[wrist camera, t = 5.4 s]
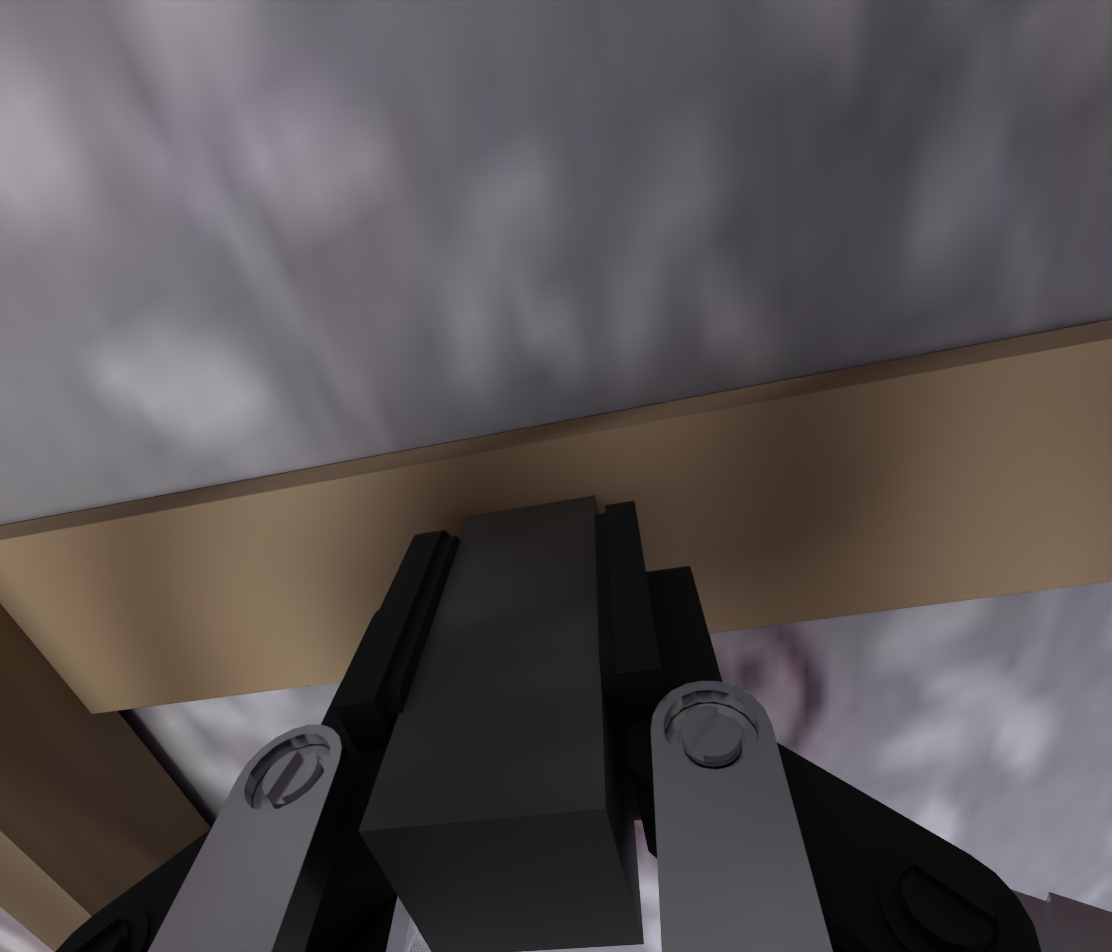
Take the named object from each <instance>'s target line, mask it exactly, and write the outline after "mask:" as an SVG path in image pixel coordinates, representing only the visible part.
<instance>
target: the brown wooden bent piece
mask: <svg viewBox="0 0 1112 952" xmlns="http://www.w3.org/2000/svg"><path fill="white" fill-rule="evenodd" d="M628 501H635V506H636V512H637V519H638V525H639V531H640V537H641V543H642V549H643V555H644V561H645V567H646V572H648V571H655V570H662V569H670V568H677V567H684V566H690V567H691V570H692V573H693V577H694V581H695V584H696V588H697V592H698V595H699V599H700V603H701V606H702V610H703V614H704V617H705V621H706V624H707V628H708V632H709V633H717V632H725V631H732V630H740V629H748V628H755V627H763V626H771V625H778V624H786V623H794V622H801V621H809V620H817V619H825V618H832V617H840V616H848V615H855V614H863V613H871V612H878V611H886V610H894V609H901V608H909V607H917V606H924V605H932V604H940V603H947V602H955V601H963V600H970V599H978V598H986V597H993V596H1001V595H1009V594H1016V593H1024V592H1032V591H1039V590H1047V589H1055V588H1062V587H1070V586H1078V585H1085V584H1093V583H1101V582H1109V581H1112V320H1107V321H1102V322H1097V323H1091V324H1086V325H1080V326H1075V327H1070V328H1064V329H1059V330H1053V331H1048V332H1043V333H1037V334H1032V335H1026V336H1021V337H1016V338H1010V339H1005V340H999V341H994V342H989V343H983V344H978V345H972V346H967V347H962V348H956V349H951V350H946V351H940V352H935V353H929V354H924V355H919V356H913V357H908V358H902V359H897V360H892V361H886V362H881V363H875V364H870V365H865V366H859V367H854V368H848V369H843V370H838V371H832V372H827V373H821V374H816V375H811V376H805V377H800V378H794V379H789V380H784V381H778V382H773V383H768V384H762V385H757V386H751V387H746V388H741V389H735V390H730V391H724V392H719V393H714V394H708V395H703V396H697V397H692V398H687V399H681V400H676V401H670V402H665V403H660V404H654V405H649V406H643V407H638V408H633V409H627V410H622V411H616V412H611V413H606V414H600V415H595V416H589V417H584V418H579V419H573V420H568V421H563V422H557V423H552V424H546V425H541V426H536V427H530V428H525V429H519V430H514V431H509V432H503V433H498V434H492V435H487V436H482V437H476V438H471V439H465V440H460V441H455V442H449V443H444V444H438V445H433V446H428V447H422V448H417V449H411V450H406V451H401V452H395V453H390V454H384V455H379V456H374V457H368V458H363V459H358V460H352V461H347V462H341V463H336V464H331V465H325V466H320V467H314V468H309V469H304V470H298V471H293V472H287V473H282V474H277V475H271V476H266V477H260V478H255V479H250V480H244V481H239V482H233V483H228V484H223V485H217V486H212V487H206V488H201V489H196V490H190V491H185V492H180V493H174V494H169V495H163V496H158V497H153V498H147V499H142V500H136V501H131V502H126V503H120V504H115V505H109V506H104V507H99V508H93V509H88V510H82V511H77V512H72V513H66V514H61V515H55V516H50V517H45V518H39V519H34V520H28V521H23V522H18V523H12V524H7V525H1V526H0V907H2V908H3V909H4V910H5V911H6V912H8V913H9V914H10V915H11V916H12V917H14V918H15V919H16V920H17V921H18V922H19V923H21V924H22V925H23V926H24V927H25V928H27V929H28V930H29V931H30V932H31V933H32V934H34V935H35V936H36V937H37V938H38V939H40V940H41V941H42V942H43V943H44V944H46V945H47V946H48V947H49V948H50V949H51V950H53V951H54V952H55V951H56V950H57V949H58V948H59V947H60V946H61V945H62V944H63V943H64V942H65V940H66V939H67V938H68V937H69V936H70V935H71V934H72V933H73V932H74V931H75V930H76V929H78V928H79V927H80V926H81V925H82V924H83V923H85V922H86V921H87V920H88V919H89V918H91V917H92V916H93V915H94V914H96V913H97V912H98V911H100V910H101V909H102V908H104V907H105V906H106V905H108V904H109V903H111V902H112V901H113V900H115V899H116V898H117V897H119V896H120V895H121V894H123V893H124V892H126V891H127V890H128V889H130V888H131V887H132V886H134V885H135V884H136V883H138V882H139V881H140V880H142V879H143V878H145V877H146V876H147V875H149V874H150V873H151V872H153V871H154V870H155V869H157V868H158V867H159V866H161V865H162V864H164V863H165V862H166V861H168V860H169V859H170V858H172V857H173V856H174V855H176V854H177V853H179V852H180V851H181V850H183V849H184V848H185V847H187V846H188V845H189V844H191V843H192V842H193V841H195V840H196V839H198V838H199V837H200V836H202V835H203V834H204V833H206V832H207V831H208V830H210V829H211V828H210V827H209V825H208V824H207V823H206V821H205V820H204V819H203V818H202V816H201V815H200V814H199V813H198V811H197V810H196V809H195V808H194V806H193V805H192V804H191V803H190V801H189V800H188V799H187V798H186V796H185V795H184V794H183V793H182V791H181V790H180V789H179V788H178V786H177V785H176V784H175V783H174V781H173V780H172V779H171V778H170V776H169V775H168V774H167V773H166V771H165V770H164V769H163V768H162V766H161V765H160V764H159V763H158V761H157V760H156V759H155V757H154V756H153V755H152V754H151V752H150V751H149V750H148V749H147V747H146V746H145V745H144V744H143V742H142V741H141V740H140V739H139V737H138V736H137V735H136V734H135V732H134V731H133V730H132V729H131V727H130V726H129V725H128V724H127V722H126V721H125V720H124V719H123V717H122V716H121V715H120V714H119V712H118V710H126V709H134V708H141V707H149V706H157V705H164V704H172V703H180V702H187V701H195V700H203V699H210V698H218V697H226V696H233V695H241V694H249V693H257V692H264V691H272V690H280V689H287V688H295V687H303V686H310V685H318V684H326V683H333V682H341V681H342V680H343V677H344V675H345V673H346V671H347V669H348V667H349V665H350V663H351V661H352V659H353V657H354V654H355V652H356V650H357V648H358V646H359V644H360V642H361V640H362V638H363V636H364V634H365V631H366V629H367V627H368V625H369V623H370V621H371V619H372V617H373V615H374V614H375V612H376V611H377V610H379V609H380V607H381V605H382V603H383V600H384V598H385V596H386V594H387V592H388V590H389V588H390V586H391V583H392V581H393V579H394V577H395V575H396V573H397V571H398V569H399V566H400V564H401V562H402V560H403V558H404V556H405V554H406V552H407V549H408V547H409V545H410V543H411V541H412V539H413V537H414V536H415V535H416V534H421V533H428V532H434V531H440V530H446V531H447V532H448V533H449V535H450V537H451V536H457V537H458V538H459V539H460V543H459V546H458V549H457V552H456V555H455V558H454V561H453V564H452V567H451V570H450V573H449V575H448V578H447V581H446V584H445V587H444V590H443V593H442V596H441V599H440V602H439V605H438V608H437V611H436V614H435V617H434V620H433V623H432V626H431V629H430V632H429V635H428V638H427V641H426V644H425V647H424V650H423V653H422V656H421V659H420V662H419V665H418V668H417V671H416V674H415V677H414V680H413V683H412V686H411V689H410V692H409V695H408V698H407V700H406V703H405V706H404V709H403V712H402V713H399V715H398V717H397V720H396V723H395V726H394V729H393V732H392V735H391V738H390V741H389V744H388V747H387V750H386V752H385V755H384V758H383V761H382V764H381V767H380V770H379V773H378V776H377V779H376V782H375V785H374V787H373V790H372V793H371V796H370V799H369V802H368V805H367V808H366V811H365V814H364V817H363V819H362V822H361V825H360V828H359V831H358V832H359V833H360V835H361V836H362V838H363V840H364V841H365V843H366V845H367V846H368V848H369V850H370V851H371V853H372V855H373V856H374V858H375V859H376V861H377V863H378V864H379V866H380V868H381V869H382V871H383V873H384V874H385V876H386V878H387V879H388V881H389V882H390V884H391V886H392V887H393V889H394V891H395V892H396V894H397V896H398V897H399V899H400V900H401V902H402V904H403V905H404V907H405V909H406V910H407V912H408V914H409V915H410V917H411V919H412V920H413V922H414V923H415V925H416V927H417V928H418V930H419V932H420V933H421V935H422V937H423V938H424V940H425V942H426V943H427V945H428V946H429V948H430V950H431V951H432V952H520V951H536V950H553V949H570V948H587V947H603V946H620V945H637V944H644V941H643V928H642V915H641V903H640V890H639V877H638V865H637V852H636V839H635V826H634V818H633V814H632V810H631V806H630V802H629V798H628V794H627V790H626V786H625V782H624V778H623V774H622V770H621V765H620V761H619V757H618V753H617V748H616V744H615V740H614V735H613V731H612V727H611V722H610V718H609V714H608V709H607V705H606V701H605V696H604V692H603V687H602V681H601V673H600V664H599V641H598V610H597V579H596V548H595V514H602V513H605V505H609V504H615V503H622V502H628Z"/></svg>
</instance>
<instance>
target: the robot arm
mask: <svg viewBox="0 0 1112 952" xmlns="http://www.w3.org/2000/svg"><path fill="white" fill-rule="evenodd" d="M459 543H460V539H459V538H458V537H457V536H451V537H450V535H449V533H448V532H447V531H446V530H440V531H434V532H428V533H421V534H416V535H415V536H414V537H413V539H412V541H411V543H410V545H409V547H408V549H407V552H406V554H405V556H404V558H403V560H402V562H401V564H400V566H399V569H398V571H397V573H396V575H395V577H394V579H393V581H392V583H391V586H390V588H389V590H388V592H387V594H386V596H385V598H384V600H383V603H382V605H381V607H380V609H379V610H377V611H376V612H375V614H374V615H373V617H372V619H371V621H370V623H369V625H368V627H367V629H366V631H365V634H364V636H363V638H362V640H361V642H360V644H359V646H358V648H357V650H356V652H355V654H354V657H353V659H352V661H351V663H350V665H349V667H348V669H347V671H346V673H345V675H344V677H343V680H342V682H341V684H340V686H339V688H338V690H337V692H336V694H335V696H334V698H333V700H332V703H331V705H330V707H329V709H328V711H327V713H326V715H325V717H324V719H323V721H322V723H321V725H306V726H302V727H299V728H295V729H292V730H290V731H288V732H286V733H284V734H282V735H280V736H278V737H276V738H275V739H274V740H272V741H271V742H270V743H268V744H267V745H266V746H264V747H263V748H262V749H261V750H260V751H259V752H258V753H257V754H256V755H255V756H254V757H253V758H252V759H251V760H250V761H249V762H248V763H247V765H246V766H245V768H244V769H243V771H242V772H241V774H240V775H239V777H238V778H237V780H236V782H235V784H234V786H233V788H232V790H231V792H230V794H229V796H228V798H227V800H226V802H225V804H224V805H223V807H222V809H221V811H220V813H219V815H218V817H217V819H216V821H215V823H214V825H213V827H212V828H211V829H210V830H208V831H207V832H206V833H204V834H203V835H202V836H200V837H199V838H198V839H196V840H195V841H193V842H192V843H191V844H189V845H188V846H187V847H185V848H184V849H183V850H181V851H180V852H179V853H177V854H176V855H174V856H173V857H172V858H170V859H169V860H168V861H166V862H165V863H164V864H162V865H161V866H159V867H158V868H157V869H155V870H154V871H153V872H151V873H150V874H149V875H147V876H146V877H145V878H143V879H142V880H140V881H139V882H138V883H136V884H135V885H134V886H132V887H131V888H130V889H128V890H127V891H126V892H124V893H123V894H121V895H120V896H119V897H117V898H116V899H115V900H113V901H112V902H111V903H109V904H108V905H106V906H105V907H104V908H102V909H101V910H100V911H98V912H97V913H96V914H94V915H93V916H92V917H91V918H89V919H88V920H87V921H86V922H85V923H83V924H82V925H81V926H80V927H79V928H78V929H76V930H75V931H74V932H73V933H72V934H71V935H70V936H69V937H68V938H67V939H66V940H65V942H64V943H63V944H62V945H61V946H60V947H59V948H58V949H57V950H56V951H55V952H404V948H405V943H406V937H407V932H408V926H409V921H410V915H409V914H408V912H407V910H406V909H405V907H404V905H403V904H402V902H401V900H400V899H399V897H398V896H397V894H396V892H395V891H394V889H393V887H392V886H391V884H390V882H389V881H388V879H387V878H386V876H385V874H384V873H383V871H382V869H381V868H380V866H379V864H378V863H377V861H376V859H375V858H374V856H373V855H372V853H371V851H370V850H369V848H368V846H367V845H366V843H365V841H364V840H363V838H362V836H361V835H360V833H359V832H358V831H359V828H360V825H361V822H362V819H363V817H364V814H365V811H366V808H367V805H368V802H369V799H370V796H371V793H372V790H373V787H374V785H375V782H376V779H377V776H378V773H379V770H380V767H381V764H382V761H383V758H384V755H385V752H386V750H387V747H388V744H389V741H390V738H391V735H392V732H393V729H394V726H395V723H396V720H397V717H398V715H399V713H402V712H403V709H404V706H405V703H406V700H407V698H408V695H409V692H410V689H411V686H412V683H413V680H414V677H415V674H416V671H417V668H418V665H419V662H420V659H421V656H422V653H423V650H424V647H425V644H426V641H427V638H428V635H429V632H430V629H431V626H432V623H433V620H434V617H435V614H436V611H437V608H438V605H439V602H440V599H441V596H442V593H443V590H444V587H445V584H446V581H447V578H448V575H449V573H450V570H451V567H452V564H453V561H454V558H455V555H456V552H457V549H458V546H459ZM595 548H596V579H597V610H598V641H599V664H600V673H601V681H602V687H603V692H604V696H605V701H606V705H607V709H608V714H609V718H610V722H611V727H612V731H613V735H614V740H615V744H616V748H617V753H618V757H619V761H620V765H621V770H622V774H623V778H624V782H625V786H626V790H627V794H628V798H629V802H630V806H631V810H632V814H633V818H634V820H642V823H643V828H644V833H645V837H646V842H647V846H648V851H649V852H650V853H651V854H652V855H653V856H655V857H656V858H657V863H658V882H659V902H660V922H661V941H662V952H1112V912H1109V911H1106V910H1103V909H1100V908H1097V907H1094V906H1091V905H1088V904H1085V903H1082V902H1079V901H1075V900H1072V899H1069V898H1066V897H1063V896H1060V895H1057V894H1054V893H1051V892H1049V894H1048V897H1047V900H1046V901H1044V900H1041V899H1038V898H1035V897H1032V896H1029V895H1026V894H1023V893H1020V892H1017V891H1014V890H1011V889H1010V888H1009V887H1008V886H1007V885H1006V884H1005V883H1004V882H1003V881H1002V880H1001V879H1000V877H999V876H998V875H997V874H996V873H995V872H993V871H992V870H991V869H989V868H988V867H986V866H985V865H984V864H982V863H981V862H979V861H978V860H977V859H975V858H974V857H973V856H971V855H970V854H968V853H966V852H965V851H963V850H961V849H959V848H958V847H956V846H954V845H953V844H951V843H949V842H947V841H946V840H944V839H942V838H941V837H939V836H937V835H935V834H934V833H932V832H930V831H928V830H927V829H925V828H923V827H922V826H920V825H918V824H916V823H915V822H913V821H911V820H910V819H908V818H906V817H904V816H903V815H901V814H899V813H898V812H896V811H894V810H892V809H891V808H889V807H887V806H886V805H884V804H882V803H880V802H879V801H877V800H875V799H874V798H872V797H870V796H868V795H867V794H865V793H863V792H861V791H860V790H858V789H856V788H855V787H853V786H851V785H849V784H848V783H846V782H844V781H843V780H841V779H839V778H837V777H836V776H834V775H832V774H831V773H829V772H827V771H825V770H824V769H822V768H820V767H819V766H817V765H815V764H813V763H812V762H810V761H808V760H806V759H805V758H803V757H801V756H800V755H798V754H796V753H794V752H793V751H791V750H789V749H788V748H786V747H784V746H782V745H781V744H779V743H777V742H776V738H775V734H774V731H773V727H772V723H771V721H770V719H769V717H768V715H767V713H766V711H765V709H764V707H763V706H762V705H761V704H760V703H759V702H758V701H757V700H756V699H755V698H754V697H753V696H752V695H750V694H749V693H747V692H745V691H744V690H742V689H740V688H739V687H737V686H733V685H730V684H727V683H723V682H722V679H721V675H720V672H719V668H718V664H717V661H716V657H715V654H714V650H713V646H712V643H711V639H710V635H709V632H708V628H707V624H706V621H705V617H704V614H703V610H702V606H701V603H700V599H699V595H698V592H697V588H696V584H695V581H694V577H693V573H692V570H691V567H690V566H684V567H677V568H670V569H662V570H655V571H648V572H646V567H645V561H644V555H643V549H642V543H641V537H640V531H639V525H638V519H637V512H636V506H635V501H628V502H622V503H615V504H609V505H605V513H602V514H595Z"/></svg>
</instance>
